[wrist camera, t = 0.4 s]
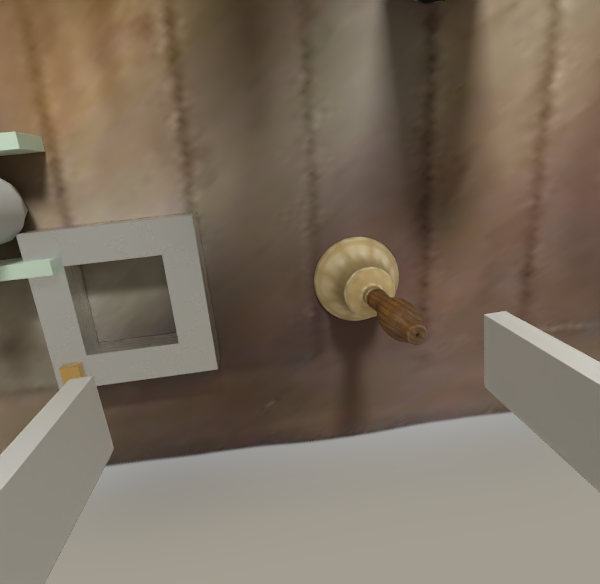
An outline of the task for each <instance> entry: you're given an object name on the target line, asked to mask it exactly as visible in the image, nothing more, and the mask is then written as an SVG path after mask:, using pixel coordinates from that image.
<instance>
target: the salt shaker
mask: <svg viewBox="0 0 600 584" xmlns="http://www.w3.org/2000/svg"><path fill="white" fill-rule="evenodd" d="M27 212H28V209H27V207H26V205H25V203H24V201H23V199H22V197H21V195H20V193H19V192H18V190H17V189H16V188H15V187H14V186H13V185H11V184H10V183H8V182H7V181H5V180H3V179H1V178H0V244H3V243H6V242H9V241H11V240H13V239H14V238H15V236H16V234H18V233H19V232H20V231H21V230H22V228H23V225H24V220H25V216H26V214H27Z"/></svg>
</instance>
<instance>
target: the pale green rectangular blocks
mask: <svg viewBox="0 0 600 584" xmlns="http://www.w3.org/2000/svg"><path fill="white" fill-rule="evenodd" d="M37 152H45V149H44V145H43V141H42V137H41V136H36V135H31V134H26V133H20V132H5V133H0V156H6V155H17V154H27V153H37ZM57 273H59V272H58V268H57V264H56V260H55V258H53V259H44V260H35V261H27V262H23V259H22V258H14V259H5V260H0V281H8V280H16V279H25V278H33V277H42V276H50V275H55V274H57Z"/></svg>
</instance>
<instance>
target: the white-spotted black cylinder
mask: <svg viewBox="0 0 600 584" xmlns="http://www.w3.org/2000/svg"><path fill="white" fill-rule="evenodd" d="M415 1H418V2H422V3H437V2H441V1H445V0H415Z"/></svg>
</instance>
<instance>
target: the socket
mask: <svg viewBox="0 0 600 584" xmlns="http://www.w3.org/2000/svg"><path fill="white" fill-rule="evenodd" d="M16 237H17V241H18V244H19V248H20V252H21V255H22V259H23V262H27V261H35V260H44V259H53V258H55V260H56V264H57V268H58V272H59V273H57V274H55V275H50V276H42V277H33V278H28V280H29V284H30V287H31V291H32V294H33V298H34V301H35V305H36V308H37V312H38V315H39V319H40V323H41V326H42V330H43V333H44V337H45V340H46V344H47V347H48V351H49V354H50V358H51V362H52V365H53V369H54V372H55V376H56V379H57V383H58V386H59V390H60V389H61V388H62V387H63V386H64V384H65V383H66V382H67V381H68V380H69V379H75V378H81V377H88V376H94V380H95V383H96V386H100V385H107V384H115V383H122V382H129V381H137V380H144V379H151V378H159V377H166V376H173V375H181V374H188V373H195V372H202V371H210V370H217V369H218V366H219V361H220V351H219V344H218V338H217V332H216V326H215V320H214V314H213V308H212V302H211V296H210V290H209V284H208V278H207V272H206V266H205V260H204V253H203V247H202V241H201V235H200V229H199V223H198V217H197V212H192V213H183V214H174V215H165V216H156V217H147V218H138V219H129V220H120V221H111V222H102V223H93V224H84V225H75V226H65V227H56V228H47V229H38V230H32V231H28V232H24V233H20V234H16ZM157 255H162V258H163V263H164V269H165V274H166V279H167V284H168V290H169V295H170V300H171V305H172V310H173V316H174V321H175V326H176V331H177V333H169V334H162V335H154V336H146V337H138V338H131V339H123V340H115V341H108V342H100V343H98V339H97V334H96V330H95V326H94V322H93V318H92V314H91V310H90V306H89V302H88V298H87V294H86V290H85V286H84V282H83V278H82V274H81V269H80V264H89V263H97V262H106V261H114V260H123V259H131V258H140V257H149V256H157Z"/></svg>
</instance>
